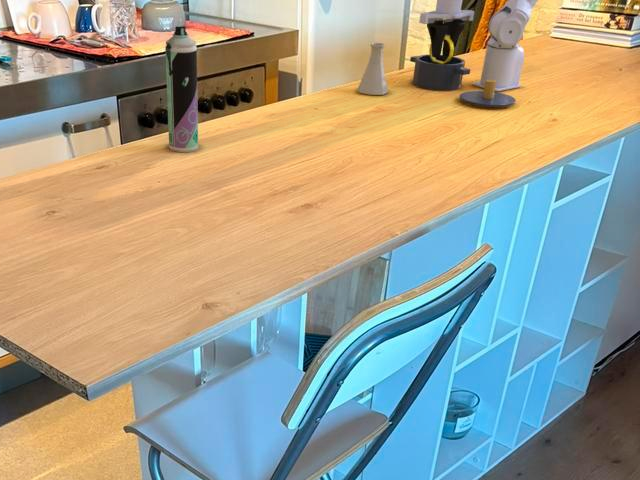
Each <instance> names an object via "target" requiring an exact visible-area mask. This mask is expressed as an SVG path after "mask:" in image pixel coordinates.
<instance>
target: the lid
mask: <svg viewBox="0 0 640 480" xmlns="http://www.w3.org/2000/svg"><path fill="white" fill-rule="evenodd" d="M495 85H496V81H495V80H490V79H489V80H485V86H484V88H483V90H468V91H464V92H461V93H460V94H459V100H460V101H461V102H464V103H466V104H469V105H471V106H474V107H478V108H487V109H489V108H490V109H497V108H498V109H499V108H507V107H511V106H514V105H515V104H516V102H517V100H516V98H515V97H513V96H512V95H509V94H506V93H503V92H498V91H494V90H495Z"/></svg>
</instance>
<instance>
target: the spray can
mask: <svg viewBox="0 0 640 480" xmlns="http://www.w3.org/2000/svg"><path fill="white" fill-rule="evenodd" d="M174 29H175V31H174V32H173V33H172V36H171V37H170V38H169V39H167V40H166V41H165V47H164V48H165V74H166V99H167V101H166V102H167V124H168V126H167V127H168V128H167V129H168V130H167V131H168V147H169V150H171V151H173V152H176V153H191V152H195V151H197V150H199V113H198V112H199V109H198V108H199V106H198V105H199V104H198V47H197V41H196V40H194V39H192V38H191V37H190V35H189V33H188V32H187V29H186V25H182V26H175V28H174Z"/></svg>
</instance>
